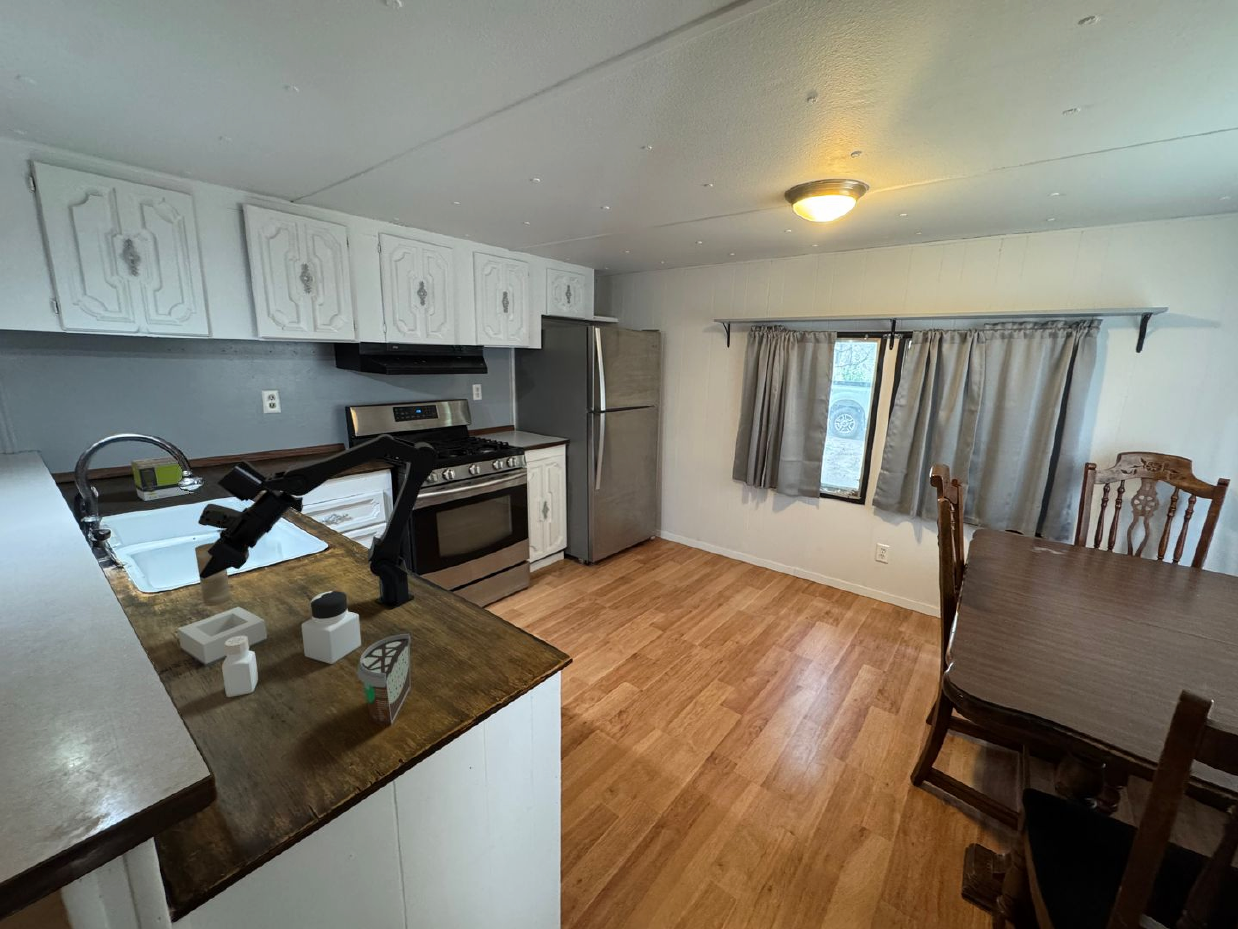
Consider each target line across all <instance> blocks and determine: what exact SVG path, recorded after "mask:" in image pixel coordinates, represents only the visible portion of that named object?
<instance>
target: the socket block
mask: <svg viewBox="0 0 1238 929" xmlns="http://www.w3.org/2000/svg"><path fill="white" fill-rule="evenodd" d="M177 633H178V638H179V644H180V649H181V651H183V652H184V653H186V654H187V655H189V656H190V657H192V658H193V659H195V660H196V661H197V662H199V663H201V664H202V665H204V666H205V667H209V666H210V665H214V664H215V662H216V663H218V662H220V661H223V660H225V659H226V657H227V655H226V651H225V642H226V641H227V640H228V639H230V638H233V637H236V636H246V637H247V638H248V646H249V649H250V648H252V647H255V646H257V645H259V644H263V643H264V642H267V641H268V637H267V636H268V634H267V627H266V620H265V619H264V618H262V617H259V616H258V615H255V614H254V613H252V612H249V611H248V610H246V609H244V608H242V607H240V606H237V607H234V608H231V609H229V610H228V609H227V610H226V611H223V612H220V613H217V614H215V615H212V616H209V617H206V618H203V619H201V620H198V621H195V622H192V623H189V624H187V625H184V626H181V627H179V628H177ZM222 659H223V660H222Z"/></svg>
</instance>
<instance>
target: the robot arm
mask: <svg viewBox="0 0 1238 929" xmlns="http://www.w3.org/2000/svg"><path fill="white" fill-rule="evenodd" d="M384 455H388V456H392V457H394V458H397V459H399V460H402V461H404V462H405V463H406V467H405V468H406V469H405V477H404V480H403V483H402V485H401V488H400V490H399V492H398V495H397V498H396V501H395V504H394V506H393V509H392V511H391V513H390V515H389V518H388V521H387V524H386V527H385V529H384V531H383V533H382V534H381V535H380V537H377V536H373V537H372V539H371V540H372V541H371V544H370V548H368V550H367V562H368V563H369V569H370V572H371V573H372V574H373V575H374V576H375V577H378V583H379V585H378V586H379V596H380V597H377V598H375V599H374V603H377V604H379V605H381V606H384V607H387V608H389V609H394V608H396V607H399V606H400V605H402V604H406V602H409V601H411V600H413V599H415V595H413V594H411V593H409V590H410V589H409V578H408V575H409V574H408V570H407V565H406V562H405V559H403V558H402V557H400V551H401V543H402V542H401V541H402V539H403V536H404V533H405V530H406V528H407V525H408V523H409V519H410V518H411V516H412V512H413V509H414V507H415V504H416V502H417V499H418V497H419V494H420V491H421V488H422V486H423V485H424V483H425V482H426V481H427V479H428V478H429V477H430V476H431V475H432V473H433V471H434V469H435V468H436V466H437V464H438V462H439V456H438V455H439V454H438V453H437V451H436V450H435V449H434V447H433V446H432V445H431V444H429V443H427V442H424V441H421V442H417V443H415V442H412V441H410V440H406V439H402V438H398V437H395V436H392V435H390V434H387V433H383V434H380V435H378V436H377V437H375V438H372V439H370V440H368V441H365V442H362V443H360V444H358V445H355V446H353V447H351V448H348V449H346V450H343V451H341V452H338V453H336V454H333V455H331V456H329V457H324V458H321V459H315V460H309V461H305V462H299V463H296V464H293V465H291V466H289V467H288V468H287V469H286V470H283V471H282V470H280V471H277V472H271V473H270V472H269V473H268V474H266V473H264V472H262V471H261V470H260V469H258V468H257V467H255V466H254V465H252V463H251V462H250V461H248V460H247V459H242V460H241V461H240V462H239V463H238V464H237V465H236V466H235V467H234V468H231V469H230V470H229V471H228V472H227V473H225V475H224V476H222V477H221V479H219V481H218V482H216V484H214V485H215V486H217V487H218V488H219V489H222V490H223V491H224V492H226V493H228V494H229V495H231V496H233V497H234V498H236V499H238V500H239V501H241V502H244V501H245V502H247V501H253V500H254V499H255V498H256V497H257V496H258V495H259V494H261V492H263V491H264V490H265V492H264V493H262V495H260V497H258V498H257V499H256V501H255V502H254V503H252V505H250V506H248V507H245V508H244V509H243V510H242V511H240V510H237V509H234V508H231V507H227V506H223V505H219V504H216V503H208V504H207V505H205V507H204V508H203V510H202V512H201V514H200V516H199V520H198V522H197V523H198V524H199V525H201V526H209V527H213V528H218V529H223V530H221V532H220V533H219V538H217V539H216V541H214V542H212V543H213V544H212V546H211V547H210V548H209V550H208V551H207V552H208V553H209V554H210V555H212V558H211V559H210V560H209V562H208V563H207V565H206V566H205V568H204V569H203V571H202V572H201V573H200V575H199V574H198V576H199V578H200V577H201V578H203V579H205V578H207V577H209V576H212V575H214V574H216V573H219V572H221V571H223V570H226V569H227V570H228V569H231V568H234V569H235V570H240V569H241V568H242V567H243V566H245V564H246V563H247V561H248V560H249V557H250V551H249V548H251V549H253V548H255V546H256V545H257V543H258V541H260V540H261V539H262V537H263V536H264V535H266V534H269V532H271V531H272V529H273V527H274V526H275V525H276V524H277V523H278V522H279V520H280V519H282V517H284V516H285V514H287V513H288V512H289V511H290V510H291V509H293V510H295V511H296V512H297V513H302V512H303V509H304V504H303V500H304V497H302V496H306V495H307V494H309V493H310V492H312V491H314V490H315V489H317V488H318V487H320V486H322V485H323V484H325V483H326V482H327V481H328V480H329V479H331V478H333V477H335V476H337V475H339V474H342V473H344V472H346V471H348V470H351V469H353V468H355V467H359V466H360V465H363V464H365V463H368V462H371V461H373V460H374V459H377V458H379V457H381V456H384Z"/></svg>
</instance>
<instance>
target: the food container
mask: <svg viewBox="0 0 1238 929" xmlns="http://www.w3.org/2000/svg"><path fill="white" fill-rule="evenodd" d="M411 643H412V640H411V636H410V633H402V634H397V635H392V636H388V637H385V638H383V639H380V640H378V641H376V642H374V643H373V644H371V645H370V646H369V647H367V648H366V649H364V651H363V653H362V654H361V656H360V658H359V661H358V665H357V670H356V671H357V677H358V679H359V681H361V682H362V683H363V687H364V691H365V692H364V693H365V699H366V704H367V708H368V714H369V717H370V719H371V720H372V721H373V722H375V723H377V724H379V725H380V724H381V725H389V726H392V725H393V723H394V721H395V718H396V717H397V715H398V713H399V711H400V709H401V707H402V705H403V703H404V701H405V699H406V697H407V695H408V693H409V691H410V689H411V658H410V657H411V654H410V653H411V648H410V644H411Z"/></svg>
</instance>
